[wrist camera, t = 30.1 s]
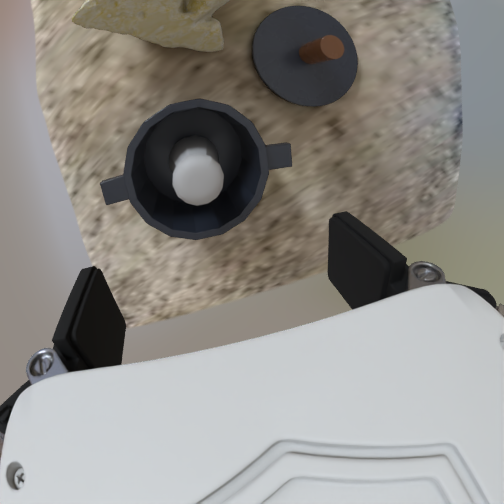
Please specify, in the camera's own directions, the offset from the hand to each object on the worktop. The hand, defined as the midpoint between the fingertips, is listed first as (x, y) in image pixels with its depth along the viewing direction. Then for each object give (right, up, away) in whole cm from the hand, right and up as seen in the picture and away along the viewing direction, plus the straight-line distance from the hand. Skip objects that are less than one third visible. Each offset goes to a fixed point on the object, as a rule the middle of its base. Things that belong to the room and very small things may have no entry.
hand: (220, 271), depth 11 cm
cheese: (-10, +28, +13) cm, 32 cm away
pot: (-6, +13, +22) cm, 26 cm away
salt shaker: (-6, +12, +22) cm, 26 cm away
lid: (+8, +26, +18) cm, 33 cm away
